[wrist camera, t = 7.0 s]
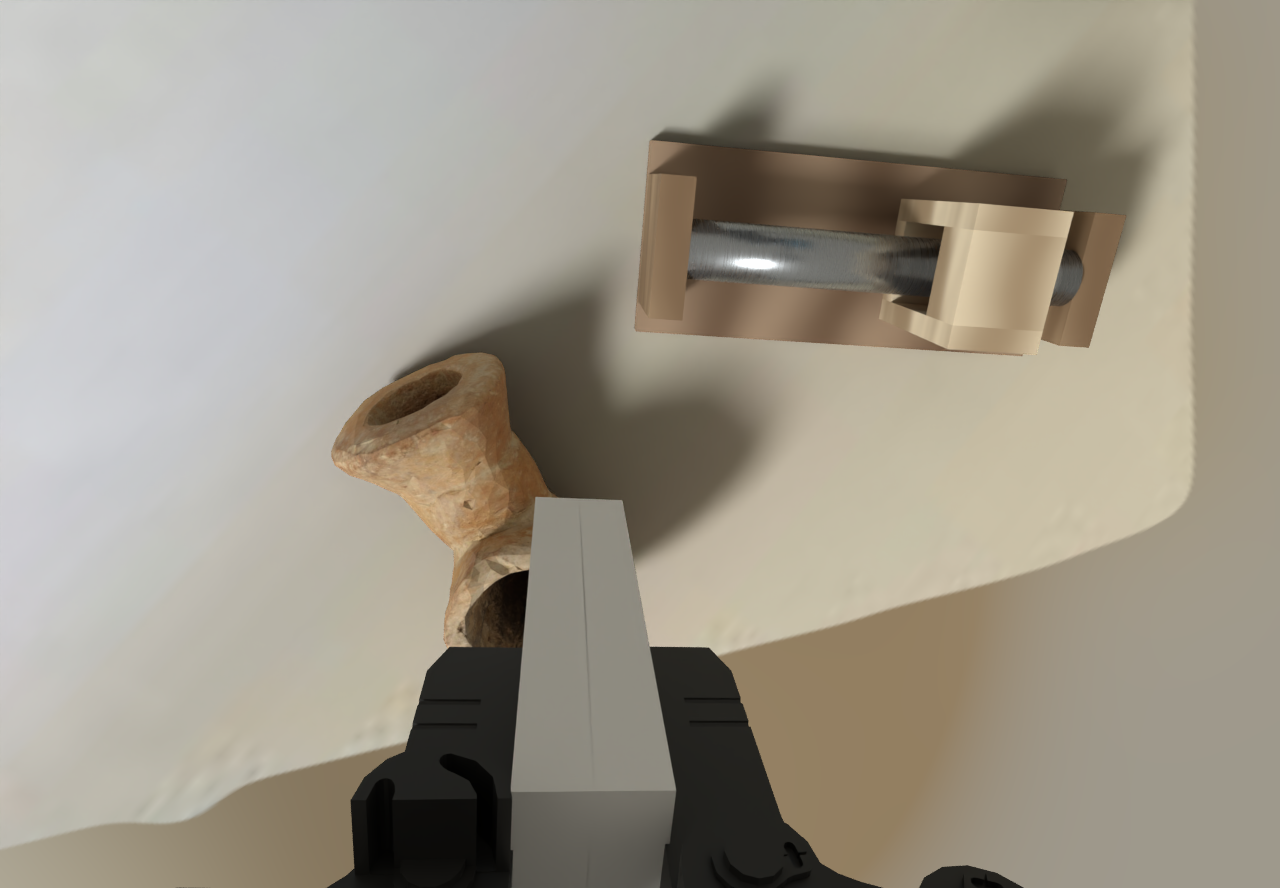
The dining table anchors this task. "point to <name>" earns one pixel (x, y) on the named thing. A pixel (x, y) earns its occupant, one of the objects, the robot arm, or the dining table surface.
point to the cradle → (830, 201)
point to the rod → (831, 259)
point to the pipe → (457, 485)
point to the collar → (982, 275)
